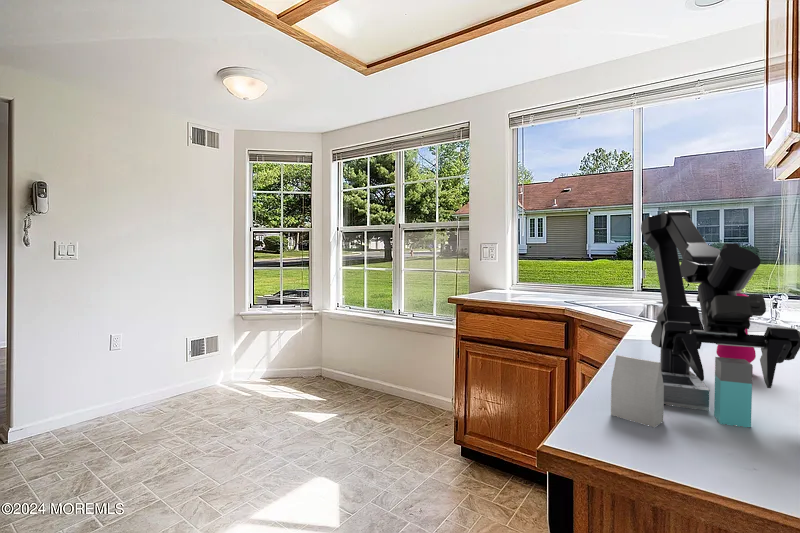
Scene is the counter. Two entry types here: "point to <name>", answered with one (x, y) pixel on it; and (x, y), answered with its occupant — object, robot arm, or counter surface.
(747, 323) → the robot arm
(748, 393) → the plug
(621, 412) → the tea packet
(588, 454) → the counter surface
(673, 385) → the block
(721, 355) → the pepper mill
